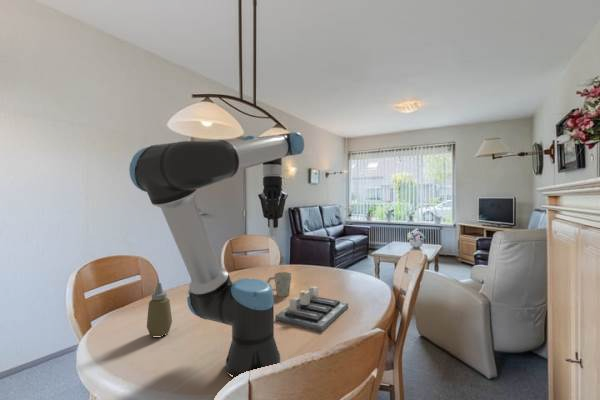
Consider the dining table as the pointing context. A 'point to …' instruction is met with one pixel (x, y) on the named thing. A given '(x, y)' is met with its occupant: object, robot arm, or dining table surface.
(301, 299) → the block
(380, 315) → the dining table surface
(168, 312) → the squeeze bottle
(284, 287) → the mug
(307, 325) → the panel
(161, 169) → the robot arm
